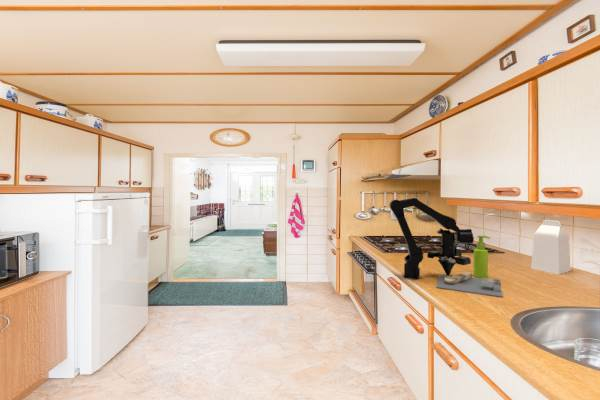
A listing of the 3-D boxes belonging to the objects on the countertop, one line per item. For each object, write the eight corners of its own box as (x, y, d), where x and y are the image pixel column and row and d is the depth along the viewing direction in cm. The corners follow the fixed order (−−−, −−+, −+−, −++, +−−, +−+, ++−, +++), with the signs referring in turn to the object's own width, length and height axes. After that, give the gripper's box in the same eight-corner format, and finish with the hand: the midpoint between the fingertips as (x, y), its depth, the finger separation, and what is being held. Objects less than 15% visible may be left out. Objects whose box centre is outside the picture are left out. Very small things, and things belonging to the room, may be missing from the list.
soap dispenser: (487, 279, 137) (488, 237, 136) (471, 276, 142) (472, 235, 141) (491, 276, 141) (492, 236, 140) (475, 273, 146) (476, 234, 145)
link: (451, 285, 128) (451, 278, 127) (442, 282, 131) (442, 276, 131) (473, 278, 136) (473, 272, 136) (464, 276, 140) (464, 270, 140)
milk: (531, 268, 154) (531, 220, 153) (543, 265, 159) (543, 218, 158) (558, 274, 144) (559, 222, 143) (570, 271, 148) (571, 220, 147)
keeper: (481, 290, 122) (481, 280, 122) (480, 286, 127) (481, 277, 127) (500, 293, 119) (500, 282, 119) (499, 289, 124) (499, 279, 123)
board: (436, 288, 126) (436, 286, 126) (440, 274, 145) (440, 273, 145) (503, 297, 114) (503, 296, 114) (497, 281, 133) (497, 280, 133)
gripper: (477, 244, 134) (477, 277, 135) (440, 238, 150) (440, 268, 151) (463, 246, 129) (463, 281, 129) (426, 240, 145) (426, 271, 145)
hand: (447, 275), depth 139 cm, fingers closed
